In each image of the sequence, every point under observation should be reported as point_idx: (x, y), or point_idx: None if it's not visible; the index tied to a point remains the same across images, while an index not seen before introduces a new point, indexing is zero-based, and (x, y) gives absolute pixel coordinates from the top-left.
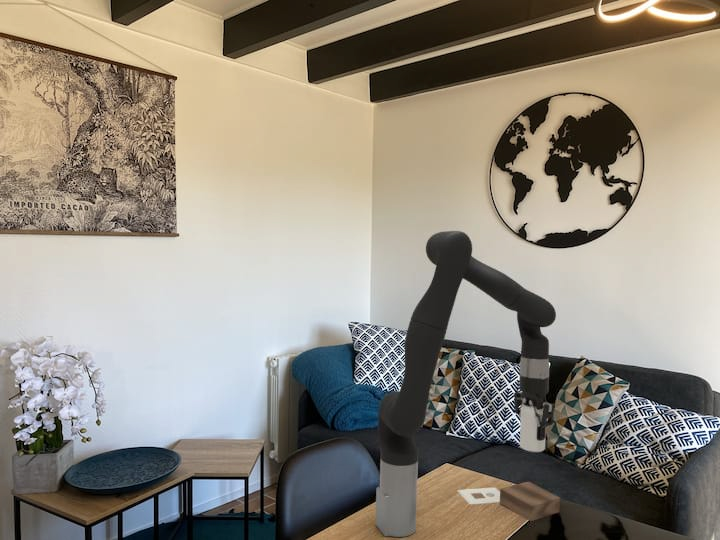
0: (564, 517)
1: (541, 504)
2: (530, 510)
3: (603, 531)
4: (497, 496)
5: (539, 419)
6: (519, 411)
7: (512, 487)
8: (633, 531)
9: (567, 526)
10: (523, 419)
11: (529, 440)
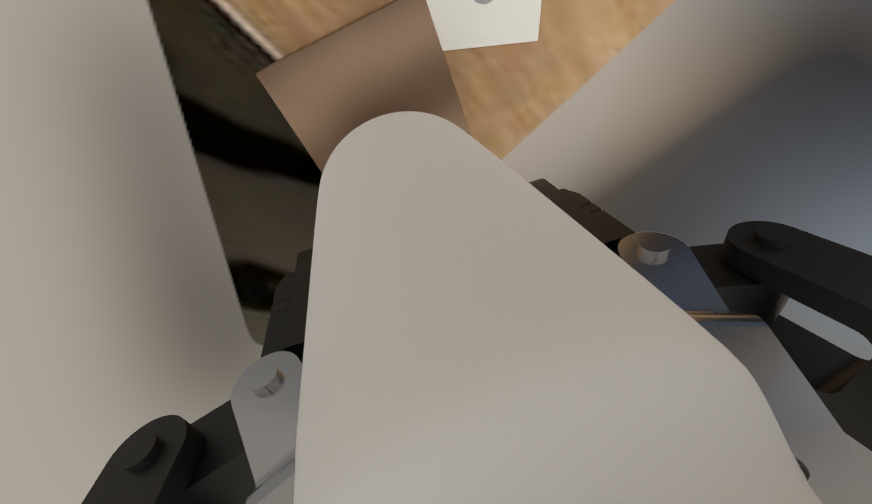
0: (315, 195)
1: (293, 128)
2: (264, 68)
3: (239, 264)
4: (467, 12)
5: (258, 466)
6: (745, 281)
7: (433, 63)
8: (256, 324)
9: (251, 181)
10: (447, 238)
11: (331, 180)
